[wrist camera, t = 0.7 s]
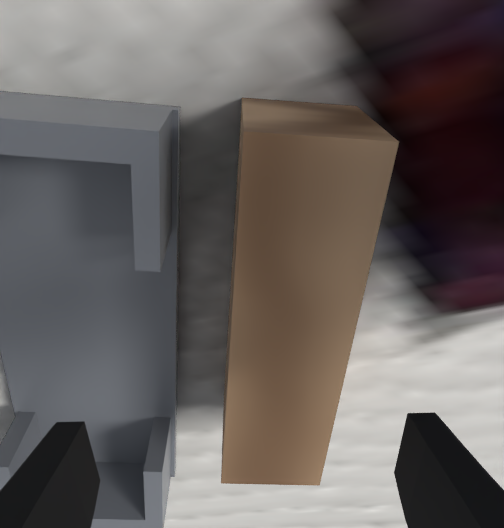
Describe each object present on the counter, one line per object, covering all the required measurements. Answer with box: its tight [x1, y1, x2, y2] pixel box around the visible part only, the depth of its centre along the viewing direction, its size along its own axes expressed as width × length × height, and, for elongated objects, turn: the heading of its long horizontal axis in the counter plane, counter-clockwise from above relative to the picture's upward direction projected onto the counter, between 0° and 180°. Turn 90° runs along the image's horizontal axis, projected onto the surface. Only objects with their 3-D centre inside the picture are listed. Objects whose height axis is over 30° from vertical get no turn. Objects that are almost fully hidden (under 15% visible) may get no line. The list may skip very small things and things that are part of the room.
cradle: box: [0, 91, 180, 528], centre depth 18 cm, size 8×19×4 cm, turn 175°
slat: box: [221, 98, 399, 485], centre depth 17 cm, size 4×14×5 cm, turn 176°
